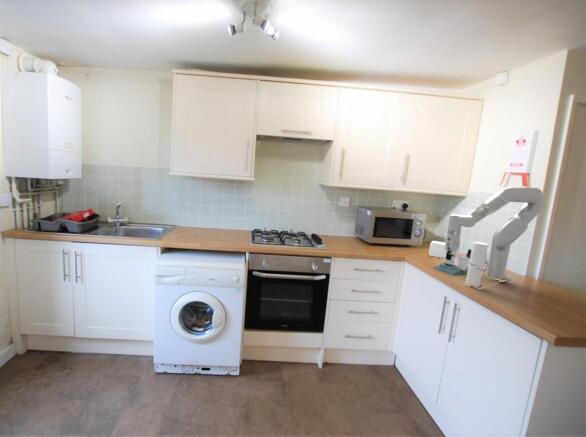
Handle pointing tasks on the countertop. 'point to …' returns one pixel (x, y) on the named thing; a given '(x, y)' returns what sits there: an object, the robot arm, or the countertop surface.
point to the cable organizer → (437, 249)
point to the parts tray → (447, 269)
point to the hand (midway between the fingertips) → (449, 259)
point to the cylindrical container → (476, 263)
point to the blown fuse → (451, 258)
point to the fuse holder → (455, 267)
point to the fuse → (462, 262)
